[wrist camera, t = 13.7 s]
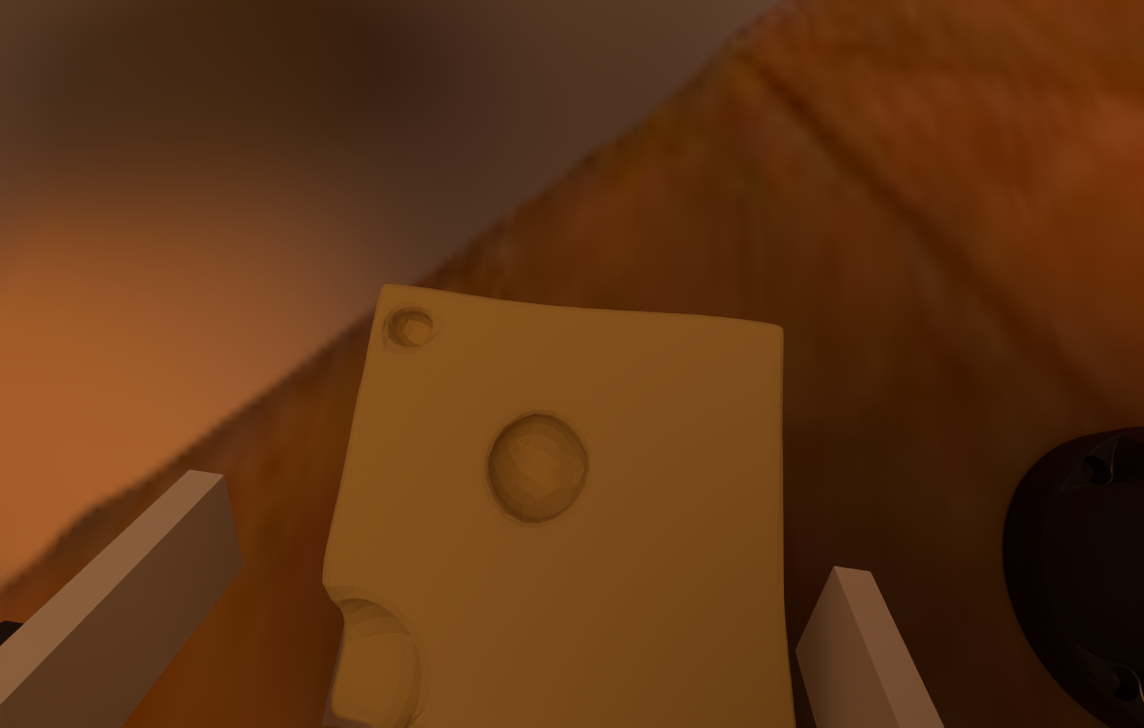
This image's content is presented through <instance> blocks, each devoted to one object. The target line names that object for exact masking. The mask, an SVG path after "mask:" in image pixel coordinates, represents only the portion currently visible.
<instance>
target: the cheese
mask: <svg viewBox="0 0 1144 728" xmlns="http://www.w3.org/2000/svg"><path fill="white" fill-rule="evenodd" d="M783 341H784V338H783V329H782V327H780V326H778V325H775V324H770V323H764V322H758V321H750V320H742V319H734V318H726V317H716V316H705V315H695V314H677V313H659V312H641V311H622V310H605V309H589V308H575V307H562V306H550V305H541V304H533V303H525V302H516V301H508V300H501V299H494V298H487V297H481V296H474V295H467V294H461V293H455V292H449V291H443V290H436V289H429V288H422V287H415V286H407V285H399V284H386V285H384V286H383V287H382V289H381V292H380V295H379V299H378V303H377V307H376V311H375V315H374V320H373V325H372V330H371V335H370V340H369V345H368V351H367V356H366V361H365V366H364V371H363V376H362V380H361V384H360V388H359V392H358V396H357V401H356V406H355V412H354V417H353V422H352V427H351V433H350V438H349V443H348V449H347V454H346V460H345V465H344V470H343V475H342V479H341V484H340V489H339V494H338V498H337V502H336V506H335V511H334V515H333V519H332V523H331V527H330V532H329V537H328V542H327V547H326V552H325V556H324V566H323V577H322V583H323V585H324V587H325V589H326V591H327V593H328V594H329V596H330V599H331V600H332V601H333V602H334V603H335V604H336V605H337V606H338V607H339V608H340V609H341V611H342V613H343V618H344V624H345V628H344V639H343V645H342V651H341V656H340V660H339V664H338V668H337V673H336V677H335V681H334V685H333V689H332V696H331V709H332V711H333V713H334V714H335V715H336V716H337V717H338V718H340V719H343V720H347V721H353V722H358V723H363V724H367V725H371V726H374V727H377V728H796V722H795V712H794V702H793V693H792V683H791V674H790V664H789V654H788V643H787V632H786V621H785V607H784V569H783V434H782V426H783Z"/></svg>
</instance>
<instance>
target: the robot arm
mask: <svg viewBox="0 0 1144 728" xmlns="http://www.w3.org/2000/svg"><path fill="white" fill-rule="evenodd" d="M1005 561H1006V570H1007V576H1008V582H1009V587H1010V591H1011V595H1012V598H1013V601H1014V605H1015V608H1016V611H1017V613H1018V616H1019V618H1020V621H1021V623H1022V625H1023V627H1024V630H1025V632H1026V634H1027V636H1028V638H1029V639H1030V641H1031V643H1032V645H1033V647H1034V648H1035V650H1036V652H1037V653H1038V655H1039V657H1040V658H1041V659H1042V661H1043V662H1044V664H1045V665H1046V667H1047V668H1048V669H1049V671H1050V672H1051V673H1052V674H1053V676H1054V677H1055V678H1056V680H1057V681H1058V682H1059V683H1060V684H1061V685H1062V686H1063V687H1064V689H1065V690H1066V691H1067V692H1068V693H1069V694H1070V695H1071V696H1072V697H1073V698H1074V699H1075V700H1076V701H1077V702H1079V703H1080V704H1081V705H1082V706H1083V707H1084V708H1085V709H1086V710H1088V711H1089V712H1090V713H1092V714H1093V715H1094V716H1095V717H1097V718H1098V719H1099V720H1101V721H1102V722H1104V723H1105V724H1107V725H1108V726H1110V727H1111V728H1144V426H1142V427H1131V428H1124V429H1119V430H1113V431H1108V432H1103V433H1098V434H1093V435H1088V436H1084V437H1080V438H1077V439H1074V440H1072V441H1069V442H1067V443H1065V444H1063V445H1061V446H1059V447H1057V448H1056V449H1054V450H1053V451H1051V452H1050V453H1048V454H1047V455H1046V456H1045V457H1043V458H1042V459H1041V460H1040V461H1039V462H1038V463H1037V464H1036V465H1035V466H1034V467H1033V468H1032V470H1031V471H1030V472H1029V473H1028V475H1027V476H1026V477H1025V479H1024V480H1023V482H1022V484H1021V486H1020V487H1019V489H1018V491H1017V493H1016V496H1015V498H1014V501H1013V503H1012V506H1011V510H1010V513H1009V517H1008V522H1007V528H1006V537H1005ZM242 568H243V562H242V557H241V553H240V548H239V543H238V538H237V534H236V529H235V524H234V519H233V515H232V510H231V505H230V501H229V496H228V491H227V486H226V482H225V477H224V475H220V474H214V473H207V472H200V471H194V470H189V471H188V472H187V473H185V474H184V475H183V476H182V477H181V478H180V479H179V480H178V481H177V482H176V483H175V484H174V485H173V486H172V487H170V488H169V489H168V490H167V491H166V492H165V493H164V494H163V495H162V496H161V497H160V498H159V499H158V500H157V501H155V502H154V503H153V504H152V505H151V506H150V507H149V508H148V509H147V510H146V511H145V512H144V513H143V514H142V515H140V516H139V517H138V518H137V519H136V520H135V521H134V522H133V523H132V524H131V525H130V526H129V527H128V528H126V529H125V530H124V531H123V532H122V533H121V534H120V535H119V536H118V537H117V538H116V539H115V540H114V541H113V542H111V543H110V544H109V545H108V546H107V547H106V548H105V549H104V550H103V551H102V552H101V553H100V554H99V555H98V556H96V557H95V558H94V559H93V560H92V561H91V562H90V563H89V564H88V565H87V566H86V567H85V568H84V569H83V570H81V571H80V572H79V573H78V574H77V575H76V576H75V577H74V578H73V579H72V580H71V581H70V582H69V583H67V584H66V585H65V586H64V587H63V588H62V589H61V590H60V591H59V592H58V593H57V594H56V595H55V596H54V597H52V598H51V599H50V600H49V601H48V602H47V603H46V604H45V605H44V606H43V607H42V608H41V609H40V610H39V611H37V612H36V613H35V614H34V615H33V616H32V617H31V618H30V619H29V620H28V621H27V622H26V623H25V624H23V623H17V622H10V621H3V622H1V623H0V728H121V726H122V725H123V724H124V723H125V721H126V720H127V719H128V717H129V716H130V715H131V713H132V712H133V711H134V709H135V708H136V707H137V705H138V704H139V703H140V702H141V700H142V699H143V698H144V696H145V695H146V694H147V692H148V691H149V690H150V688H151V687H152V686H153V684H154V683H155V682H156V680H157V679H158V678H159V677H160V675H161V674H162V673H163V671H164V670H165V669H166V667H167V666H168V665H169V663H170V662H171V661H172V659H173V658H174V657H175V656H176V654H177V653H178V652H179V650H180V649H181V648H182V646H183V645H184V644H185V642H186V641H187V640H188V638H189V637H190V636H191V635H192V633H193V632H194V631H195V629H196V628H197V627H198V625H199V624H200V623H201V621H202V620H203V619H204V617H205V616H206V615H207V613H208V612H209V611H210V610H211V608H212V607H213V606H214V604H215V603H216V602H217V600H218V599H219V598H220V596H221V595H222V594H223V592H224V591H225V590H226V589H227V587H228V586H229V585H230V583H231V582H232V581H233V579H234V578H235V577H236V575H237V574H238V573H239V571H240V570H241V569H242ZM795 652H796V656H797V659H798V663H799V666H800V670H801V673H802V677H803V680H804V684H805V687H806V691H807V694H808V698H809V701H810V705H811V709H812V712H813V716H814V719H815V723H816V726H817V728H944V726H943V724H942V722H941V720H940V717H939V715H938V713H937V711H936V709H935V707H934V705H933V703H932V701H931V698H930V696H929V694H928V692H927V690H926V688H925V686H924V684H923V682H922V679H921V677H920V675H919V673H918V671H917V669H916V667H915V665H914V663H913V661H912V658H911V656H910V654H909V652H908V650H907V648H906V646H905V644H904V642H903V639H902V637H901V635H900V633H899V631H898V629H897V627H896V625H895V623H894V620H893V618H892V616H891V614H890V612H889V610H888V608H887V606H886V604H885V601H884V599H883V597H882V595H881V593H880V591H879V589H878V587H877V585H876V583H875V580H874V578H873V576H872V574H871V572H870V571H863V570H857V569H850V568H843V567H836V566H834V567H833V569H832V571H831V573H830V576H829V578H828V580H827V582H826V584H825V586H824V589H823V591H822V593H821V595H820V597H819V600H818V602H817V604H816V606H815V608H814V610H813V613H812V615H811V617H810V619H809V621H808V623H807V626H806V628H805V630H804V632H803V634H802V637H801V639H800V641H799V643H798V645H797V647H796V650H795Z"/></svg>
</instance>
